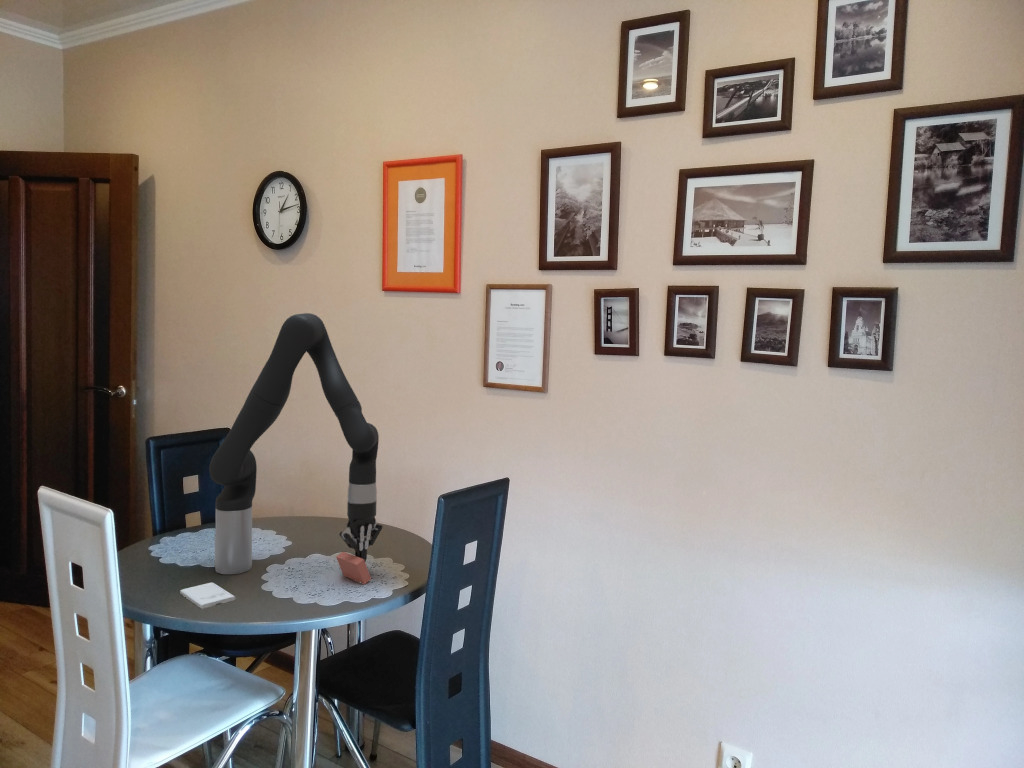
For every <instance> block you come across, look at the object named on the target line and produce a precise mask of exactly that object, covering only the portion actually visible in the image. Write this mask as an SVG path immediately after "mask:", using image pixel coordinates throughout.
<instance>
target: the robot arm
mask: <svg viewBox="0 0 1024 768" xmlns="http://www.w3.org/2000/svg"><path fill="white" fill-rule="evenodd" d="M306 353H307V354H308V356H309V357H310V358H311V359H312V362H313V364H314V366H315V368H316V371H317V374H318V376H319V381H320V384H321V388H322V391H323V394H324V397H325V399H326V401H327V403H328V405H329V406H330V408H331V410H332V412H333V413H334V416H335V417H336V418H337V421H338V423H339V426H340V428H341V431H342V434H343V437H344V439H345V440H346V443H347V444H348V446H349V447H350V448H351V449H352V452H351V453H352V456H351V460H350V464H349V466H348V467H349V469H348V470H349V471H348V487H347V506H346V507H347V508H346V509H347V512H346V513H347V518H348V522H347V523H346V529H344V530H343V531H340V532H339V537H340V538H341V539H342V540H343V542H344V543H345V544H346V545H347V547H348V548H349V549H353V550H354V556H357V557H359V558H362V559H364V561H365V563H366V562H367V560H368V559H367V558H368V556H367V555H368V549H369V547H370V546H374V543H375V542H376V540H377V539H378V536H379V535H380V533H381V531H382V529H383V524H382V525H381V524H379V523H377V520H376V516H377V498H378V497H377V493H378V489H377V457H378V449H379V441H380V440H379V437H380V436H379V432H378V431H379V430H378V429H377V428H376V426H375V425H373V424H372V423H369V422H367V420H366V418H365V415H364V414H363V412H362V411H363V410H362V409H363V407H362V405H361V402H360V401H359V398H358V397H357V395H356V393H355V391H354V390H353V388H352V385H351V384H350V382H349V381H348V378H347V377H346V375H345V373H344V371H343V368H342V366H341V365H340V362H339V359H338V357H337V355H336V352H335V350H334V348H333V345H332V342H331V339H330V336H329V334H328V331H327V328H326V326H325V323H324V321H323V320H322V319H321V318H320V317H319V316H317V315H316V314H314V313H310V312H309V313H308V312H307V313H306V312H304V313H297V314H293V315H290V316H289V317H288V318H286V319H285V321H284V322H283V323H282V326H281V327H280V330H279V333H278V335H277V338H276V340H275V342H274V346H273V348H272V351H271V353H270V355H269V357H268V359H267V360H266V363H265V364H264V365H263V368H262V369H261V372H260V373H259V375H258V377H257V379H256V381H255V382H254V384H253V386H252V388H251V389H250V391H249V393H248V394H247V397H246V399H245V401H244V403H243V406H242V408H241V409H240V411H239V412H238V415H237V417H235V418H236V419H235V421H234V422H233V424H232V427H231V428H230V430H229V431H228V433H227V435H226V436H225V438H224V439H223V441H222V442H221V443H220V445H219V447H218V448H217V449H216V451H215V453H214V454H213V456H212V458H211V460H210V462H209V466H208V467H209V468H208V470H209V476H210V479H211V480H212V481H213V482H214V483H215V484H217V485H219V486H224V487H223V489H222V490H221V492H220V493H219V494H218V495H217V496H216V498H215V533H214V568H215V572H216V573H217V574H221V575H237V574H238V575H239V574H242V573H243V574H244V573H246V572H248V571H250V570H251V569H252V566H253V560H252V559H253V500H254V498H255V495H256V487H257V471H258V469H257V468H258V467H257V459H256V456H255V454H254V453H253V451H252V450H251V448H252V447H253V445H254V444H255V443H256V442H257V441H258V440H259V439H260V437H261V436H263V434H264V433H265V432H266V431H267V430H268V429H270V427H271V426H272V425H273V424H274V423H275V422H276V421H277V419H278V417H279V416H280V415H281V412H282V411H283V408H284V407H285V404H286V403H287V401H288V399H289V396H290V393H291V389H292V383H293V377H294V373H295V371H296V369H297V367H298V365H299V363H300V362H301V360H302V358H303V357H304V355H305V354H306Z"/></svg>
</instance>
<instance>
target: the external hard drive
mask: <svg viewBox="0 0 1024 768" xmlns="http://www.w3.org/2000/svg"><path fill="white" fill-rule="evenodd" d="M179 592H180V593H179V594H180V595H181V594H182V595H183V596H182V595H181V596H182V597H184V598H185V597H186V598H185V599H187V600H188V601H190V603H192V604H193V605H195V606H197V607H198V608H199V609H201V610H203V609H208V608H211V607H213V606H217V605H219V604H225V603H228V602H232V601H236V596H235V595H233V594H232V593H230V592H228V591H227V590H225V589H224V588H222V587H221V586H219V585H217V584H216V583H214V582H207V583H204V584H198V585H196V586H191V587H188V588H187V587H186V588H183V589H181V590H179Z"/></svg>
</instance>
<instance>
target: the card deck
mask: <svg viewBox="0 0 1024 768" xmlns="http://www.w3.org/2000/svg"><path fill="white" fill-rule="evenodd" d="M335 558H336V560H337V562H338V565H339V567H340V568H339V569H340V571H341V573H342V576H343V575H344V576H343V577H345V576H346V577H345V578H347V577H348V578H347V579H350V578H351V579H350V580H352V579H353V580H352V581H354V580H356V581H355V582H357V581H358V582H357V583H359V582H361V583H360V584H362V583H363V584H362V585H364V584H365V585H366V584H367V583H369V582H370V581H371V580H372V577H371V575H370V572H369V570H368V566H367V564H366V562H365V561H364V559H362V558H359V557H357V556H355V554H351V553H348V552H345V551H341V552H340V553H338V554H337V555H336V556H335Z"/></svg>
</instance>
